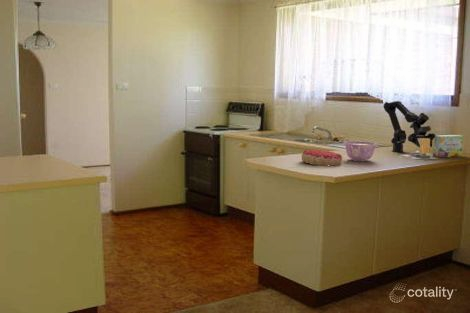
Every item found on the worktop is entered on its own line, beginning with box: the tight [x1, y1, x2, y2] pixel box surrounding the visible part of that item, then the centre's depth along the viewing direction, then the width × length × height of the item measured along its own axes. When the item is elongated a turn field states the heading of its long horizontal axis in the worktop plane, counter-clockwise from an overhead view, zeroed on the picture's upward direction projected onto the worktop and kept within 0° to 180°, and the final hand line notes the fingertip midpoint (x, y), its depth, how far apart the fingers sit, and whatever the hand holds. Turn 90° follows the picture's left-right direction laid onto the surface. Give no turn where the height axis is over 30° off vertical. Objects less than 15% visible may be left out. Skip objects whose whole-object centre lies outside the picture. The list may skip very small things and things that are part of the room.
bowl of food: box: [344, 140, 377, 162], centre depth 338 cm, size 20×20×12 cm
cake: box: [301, 148, 343, 167], centre depth 325 cm, size 25×25×8 cm
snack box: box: [432, 134, 464, 158], centre depth 364 cm, size 21×6×15 cm, turn 112°
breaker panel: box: [400, 150, 439, 161], centre depth 357 cm, size 18×17×4 cm
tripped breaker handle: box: [420, 139, 431, 154], centre depth 356 cm, size 3×4×10 cm
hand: (425, 146), depth 356 cm, fingers open, 9 cm apart
